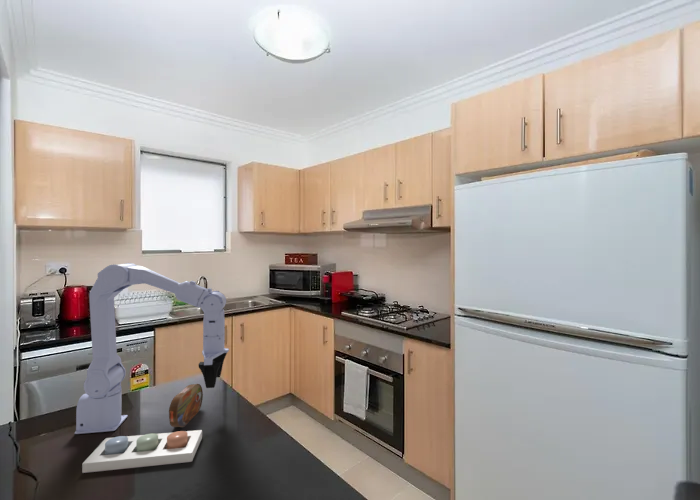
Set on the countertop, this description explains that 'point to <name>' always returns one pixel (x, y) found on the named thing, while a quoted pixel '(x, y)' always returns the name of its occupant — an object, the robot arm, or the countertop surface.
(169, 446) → the terracotta button
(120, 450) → the slate button
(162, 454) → the button panel
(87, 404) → the robot arm
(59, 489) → the countertop surface
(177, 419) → the tin
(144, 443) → the sage button
